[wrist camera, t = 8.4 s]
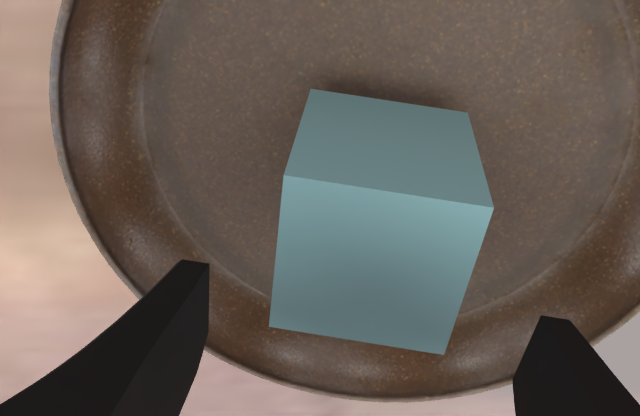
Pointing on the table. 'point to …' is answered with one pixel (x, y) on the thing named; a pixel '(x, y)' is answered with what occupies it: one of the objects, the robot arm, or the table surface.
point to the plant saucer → (374, 82)
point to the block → (378, 222)
